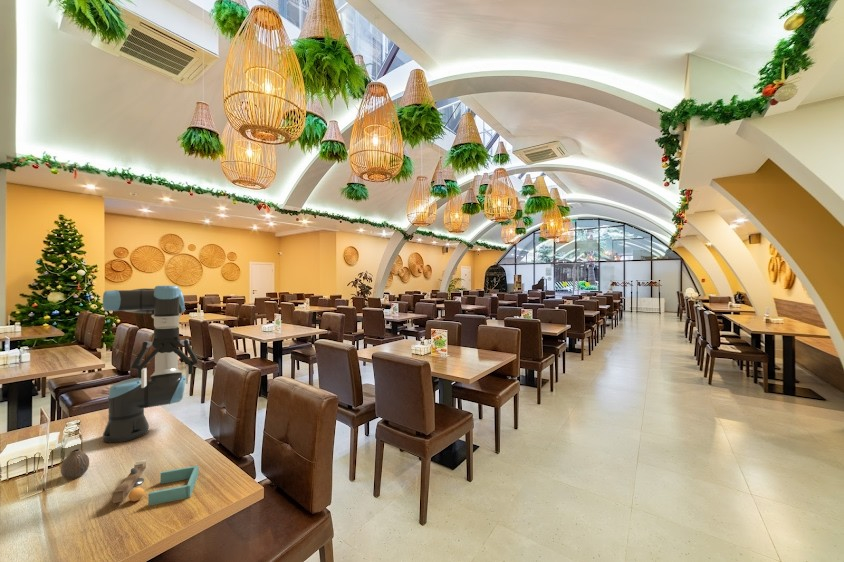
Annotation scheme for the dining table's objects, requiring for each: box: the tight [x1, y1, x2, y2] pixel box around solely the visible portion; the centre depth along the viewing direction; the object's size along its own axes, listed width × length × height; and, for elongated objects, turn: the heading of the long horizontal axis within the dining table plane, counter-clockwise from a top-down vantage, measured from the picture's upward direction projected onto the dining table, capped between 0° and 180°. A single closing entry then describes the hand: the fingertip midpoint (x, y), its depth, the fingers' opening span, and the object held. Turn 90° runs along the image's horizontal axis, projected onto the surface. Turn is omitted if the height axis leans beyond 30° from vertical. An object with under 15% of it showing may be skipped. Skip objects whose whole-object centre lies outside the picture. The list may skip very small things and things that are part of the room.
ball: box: [128, 487, 145, 502], centre depth 106 cm, size 4×4×4 cm
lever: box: [112, 459, 147, 504], centre depth 111 cm, size 20×2×4 cm, turn 23°
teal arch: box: [147, 465, 199, 506], centre depth 111 cm, size 13×10×4 cm
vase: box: [60, 448, 90, 480], centre depth 118 cm, size 7×7×9 cm
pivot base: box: [132, 477, 145, 488], centre depth 114 cm, size 5×5×1 cm
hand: (166, 384), depth 128 cm, fingers open, 13 cm apart
